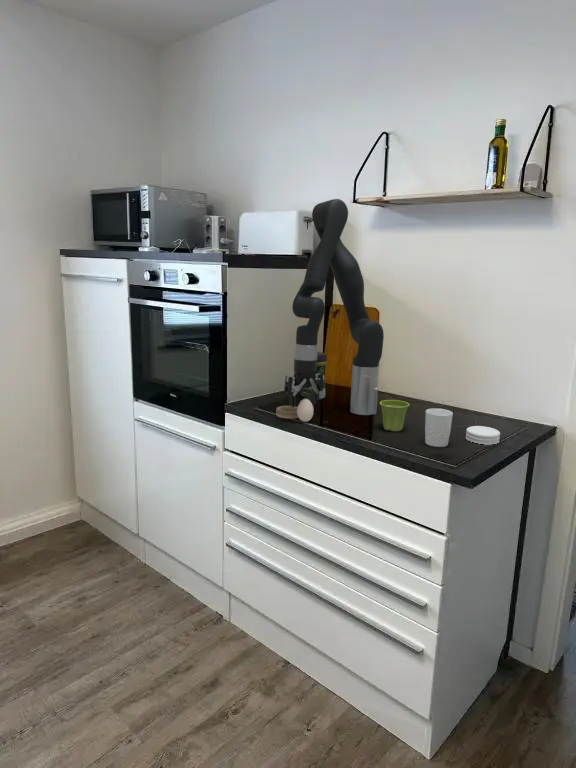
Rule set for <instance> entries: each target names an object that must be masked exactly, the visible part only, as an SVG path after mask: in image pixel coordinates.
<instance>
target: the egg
mask: <svg viewBox="0 0 576 768" xmlns="http://www.w3.org/2000/svg"><path fill="white" fill-rule="evenodd" d="M297 407H298V408H297V415H298V417H299V418H298V419H299V420H300V421H301V422H304V423H308V422H309V421H310V420H311V419H312V418H313V417H314V404H312V403H311V399H308V398H303V399H302V400H300V402H299V403H298V406H297Z"/></svg>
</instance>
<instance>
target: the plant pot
mask: <svg viewBox="0 0 576 768" xmlns="http://www.w3.org/2000/svg"><path fill="white" fill-rule="evenodd" d="M379 405H380V407H381V408H380V409H381V412H382V424H383V429H384V430H385V431H390V432H400V431H401V430H403V427H404V425H405V424H404V423H405V418H406V413H407V411H408V408H409V407H410V403H409V402H407V401H403V400H398V399H385V400H381V401H380V402H379Z"/></svg>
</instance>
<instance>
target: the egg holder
mask: <svg viewBox="0 0 576 768" xmlns="http://www.w3.org/2000/svg"><path fill="white" fill-rule="evenodd" d="M297 408H298V406H296V405H295V407H291V406H290V405H280V406H278V407H276V410H275V415H276V417H278V418H282V419H290V420H291V419H299V417H298V415H297Z"/></svg>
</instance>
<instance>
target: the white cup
mask: <svg viewBox="0 0 576 768" xmlns="http://www.w3.org/2000/svg"><path fill="white" fill-rule="evenodd" d="M453 415H454V412H453V411H451V410H448V409H444V408H428V409H425V417H424V418H425V419H424V420H425V421H424V422H425V424H424V425H425V426H424V434H425V435H424V436H425V437H424V443H425V445H428V446H430V447H436V448H437V447H438V448H445V447H447V446H448V445H449V441H450V439H449V438H450V436H451V430H452V423H453Z"/></svg>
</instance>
